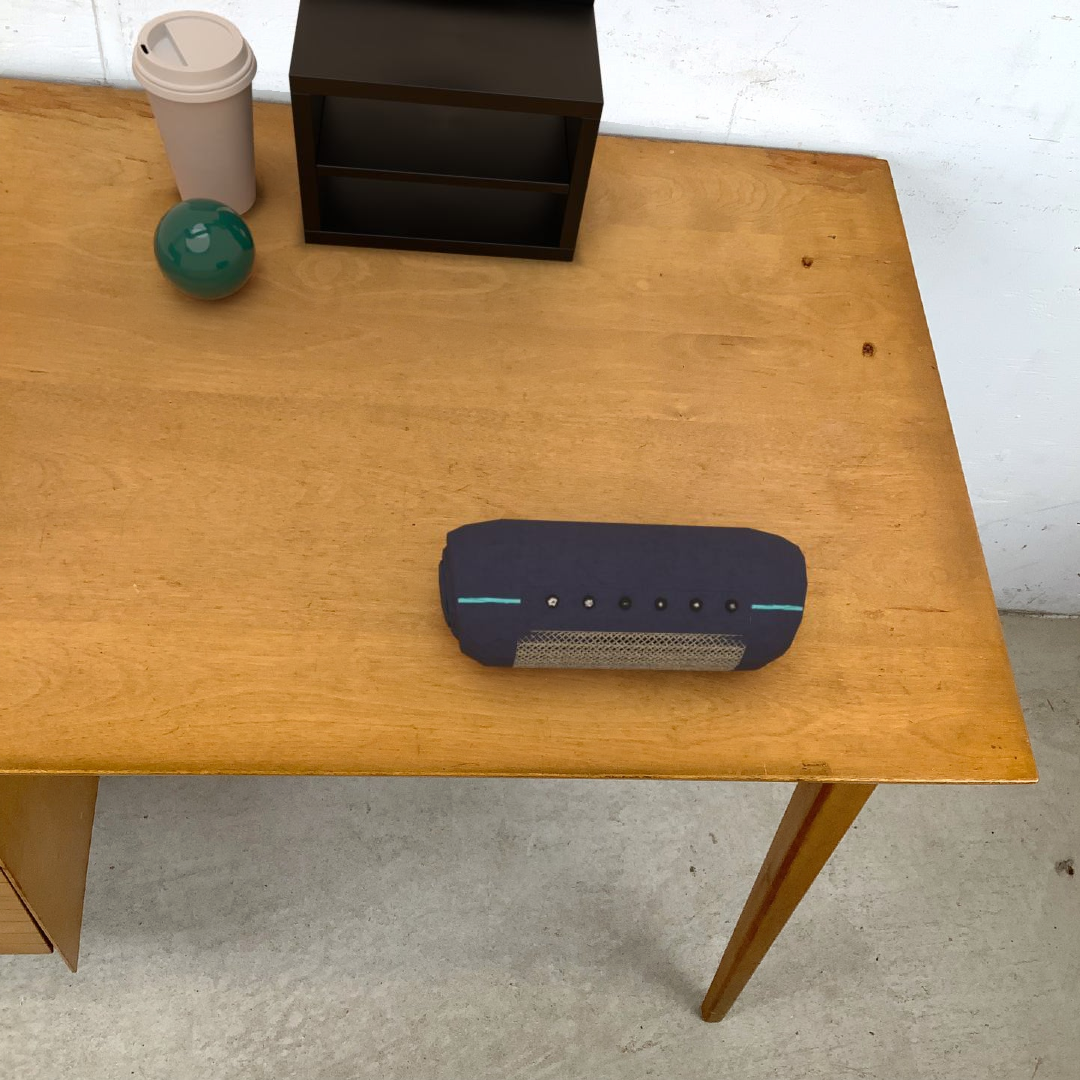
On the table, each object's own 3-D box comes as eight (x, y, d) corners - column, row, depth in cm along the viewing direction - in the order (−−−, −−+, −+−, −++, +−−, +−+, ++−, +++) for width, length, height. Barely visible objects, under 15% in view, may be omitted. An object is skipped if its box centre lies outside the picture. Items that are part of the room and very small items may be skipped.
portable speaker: (434, 690, 69) (439, 625, 61) (436, 563, 74) (441, 487, 66) (786, 694, 72) (838, 633, 64) (765, 573, 77) (811, 501, 69)
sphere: (272, 308, 85) (262, 235, 78) (176, 329, 83) (156, 255, 76) (246, 244, 89) (234, 168, 82) (153, 262, 86) (132, 186, 80)
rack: (572, 262, 93) (608, 79, 77) (304, 243, 90) (285, 49, 74) (565, 160, 100) (597, -25, 84) (317, 140, 97) (302, -56, 81)
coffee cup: (167, 158, 93) (132, 0, 80) (274, 161, 95) (256, 7, 82) (159, 231, 88) (119, 75, 76) (272, 233, 90) (252, 81, 77)
